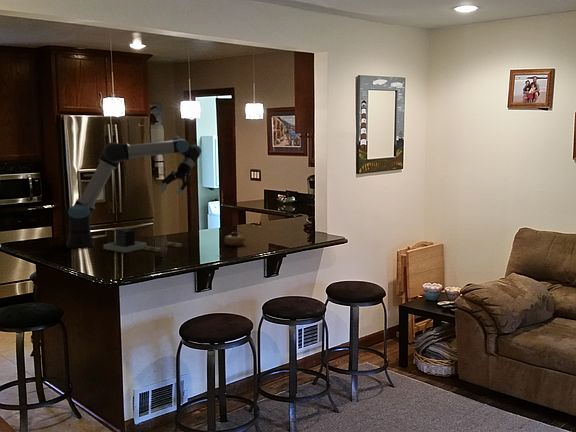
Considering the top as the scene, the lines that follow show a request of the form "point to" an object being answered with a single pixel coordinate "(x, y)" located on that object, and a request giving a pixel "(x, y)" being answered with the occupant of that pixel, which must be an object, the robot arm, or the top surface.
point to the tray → (124, 249)
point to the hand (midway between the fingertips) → (169, 193)
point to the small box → (125, 237)
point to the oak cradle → (161, 248)
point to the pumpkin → (234, 239)
